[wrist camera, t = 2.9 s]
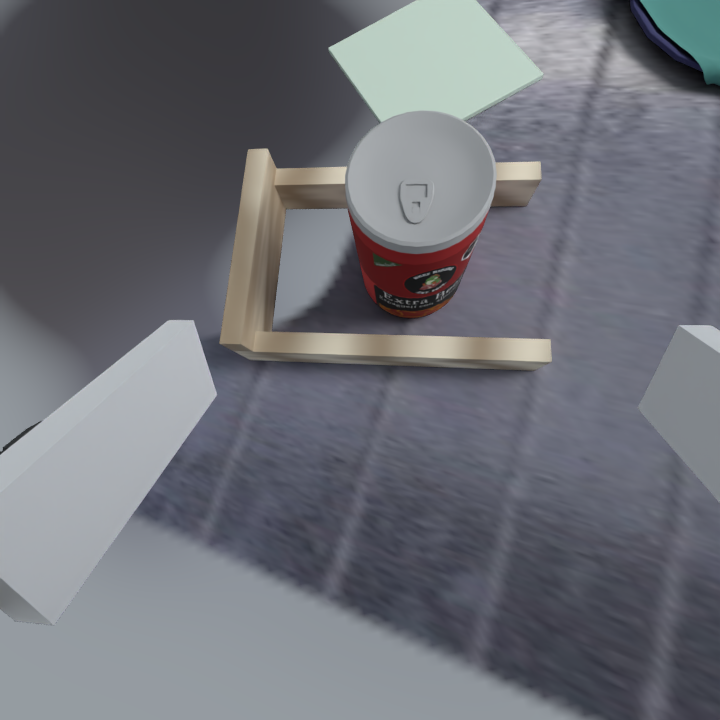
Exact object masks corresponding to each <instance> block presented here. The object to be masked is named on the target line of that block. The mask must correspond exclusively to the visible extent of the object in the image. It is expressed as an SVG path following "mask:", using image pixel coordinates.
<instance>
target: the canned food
mask: <svg viewBox="0 0 720 720" xmlns="http://www.w3.org/2000/svg"><path fill="white" fill-rule="evenodd" d="M496 178H497V171H496V164H495V159H494V156H493V154H492V151H491V148H490V147H489V145H488V144H487V142H486V140H485V139H484V137H483V136H482V135H481V134H480V133H479V132H478V131H477V130H476V129H475V128H474V127H473V126H471V125H470V124H468V123H467V122H465V121H464V120H462V119H460V118H457V117H455V116H453V115H450V114H446V113H442V112H437V111H423V110H421V111H413V112H406V113H403V114H399V115H396V116H393V117H391V118H389V119H387V120H385V121H383V122H381V123H379V124H378V125H377V126H375V127H374V128H372V129H371V130H370V131H369V132H368V133H367V134H366V135H365V136H364V137H363V138H362V139H361V140H360V141H359V143H358V144H357V146H356V147H355V149H354V150H353V152H352V154H351V157H350V159H349V162H348V164H347V169H346V174H345V192H346V201H347V206H348V213H349V217H350V221H351V226H352V230H353V235H354V239H355V244H356V248H357V253H358V257H359V261H360V266H361V270H362V275H363V279H364V283H365V287H366V289H367V291H368V293H369V295H370V296H371V298H372V299H373V300H374V302H375V303H376V304H377V305H379V306H380V307H381V308H382V309H384V310H385V311H387V312H389V313H391V314H393V315H396V316H399V317H404V318H419V317H422V316H426V315H429V314H431V313H433V312H435V311H437V310H439V309H440V308H442V307H443V306H444V305H446V304H447V303H448V301H449V300H450V299H451V298H452V297H453V295H454V294H455V292H456V290H457V288H458V286H459V284H460V281H461V279H462V276H463V274H464V271H465V269H466V267H467V264H468V262H469V259H470V257H471V254H472V252H473V249H474V247H475V245H476V242H477V240H478V237H479V235H480V232H481V230H482V228H483V225H484V223H485V220H486V217H487V214H488V211H489V209H490V206H491V203H492V200H493V197H494V191H495V188H496Z"/></svg>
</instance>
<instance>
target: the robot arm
mask: <svg viewBox="0 0 720 720" xmlns="http://www.w3.org/2000/svg"><path fill="white" fill-rule="evenodd" d="M216 396H217V393H216V390H215V386H214V383H213V380H212V377H211V374H210V371H209V368H208V364H207V361H206V358H205V355H204V352H203V349H202V346H201V342H200V339H199V336H198V333H197V330H196V327H195V324H194V321H193V320H168V321H167V322H166V323H165V324H163V325H162V326H161V327H160V328H158V329H157V330H156V331H155V332H153V333H152V334H151V335H150V336H148V337H147V338H146V339H145V340H143V341H142V342H141V343H140V344H138V345H137V346H136V347H135V348H133V349H132V350H131V351H130V352H128V353H127V354H126V355H125V356H123V357H122V358H121V359H120V360H118V361H117V362H116V363H115V364H113V365H112V366H111V367H110V368H108V369H107V370H106V371H105V372H103V373H102V374H101V375H99V376H98V377H97V378H96V379H95V380H93V381H92V382H91V383H89V384H88V385H87V386H86V387H85V388H83V389H82V390H81V391H79V392H78V393H77V394H76V395H74V396H73V397H72V398H71V399H70V400H68V401H67V402H66V403H65V404H63V405H62V406H61V407H59V408H58V409H57V410H56V411H54V412H53V413H52V414H51V415H49V416H48V417H47V418H46V419H44V420H42V421H40V422H38V423H37V424H35V425H33V426H31V427H29V428H28V429H26V430H25V431H24V432H22V433H21V434H20V435H18V436H17V437H16V438H14V439H13V440H12V441H11V442H10V443H8V444H7V445H6V446H5V447H3V451H2V452H0V609H1V610H2V611H3V612H4V613H6V614H7V615H8V616H9V617H11V618H12V619H13V620H14V621H17V622H26V623H35V624H44V625H55V624H56V622H57V621H58V619H59V618H60V616H61V615H62V614H63V612H64V611H65V609H66V608H67V607H68V605H69V604H70V602H71V601H72V599H73V598H74V597H75V595H76V594H77V592H78V591H79V590H80V588H81V587H82V585H83V584H84V583H85V581H86V580H87V578H88V577H89V575H90V574H91V572H92V571H93V570H94V568H95V567H96V566H97V564H98V563H99V561H100V560H101V558H102V557H103V556H104V554H105V553H106V551H107V550H108V549H109V547H110V546H111V544H112V543H113V541H114V540H115V539H116V537H117V536H118V534H119V533H120V531H121V530H122V529H123V527H124V526H125V524H126V523H127V522H128V520H129V519H130V517H131V516H132V515H133V513H134V512H135V510H136V509H137V507H138V506H139V505H140V503H141V502H142V500H143V499H144V498H145V496H146V495H147V493H148V492H149V490H150V489H151V488H152V486H153V485H154V483H155V482H156V481H157V479H158V478H159V476H160V475H161V473H162V472H163V471H164V469H165V468H166V466H167V465H168V464H169V462H170V461H171V459H172V458H173V457H174V455H175V454H176V452H177V451H178V449H179V448H180V447H181V445H182V444H183V442H184V441H185V440H186V438H187V437H188V435H189V434H190V432H191V431H192V430H193V428H194V427H195V425H196V424H197V423H198V421H199V420H200V418H201V417H202V415H203V414H204V413H205V411H206V410H207V408H208V407H209V406H210V404H211V403H212V401H213V400H214V398H215V397H216ZM638 409H639V411H640V412H641V413H642V414H643V415H644V416H645V418H646V419H647V420H648V421H649V422H650V423H651V424H652V426H653V427H654V428H655V429H656V430H657V431H658V432H659V434H660V435H661V436H662V437H663V438H664V439H665V441H666V442H667V443H668V444H669V445H670V446H671V447H672V449H673V450H674V451H675V452H676V453H677V454H678V456H679V457H680V458H681V459H682V460H683V461H684V462H685V464H686V465H687V466H688V467H689V468H690V469H691V470H692V472H693V473H694V474H695V475H696V476H697V477H698V479H699V480H700V481H701V482H702V483H703V484H704V485H705V487H706V488H707V489H708V490H709V491H710V492H711V494H712V495H713V496H714V497H715V498H716V499H717V500H718V502H719V503H720V330H718V329H716V328H715V327H713V326H709V325H679V326H678V328H677V330H676V332H675V334H674V336H673V338H672V340H671V342H670V344H669V346H668V348H667V350H666V352H665V354H664V356H663V358H662V360H661V362H660V364H659V366H658V368H657V370H656V372H655V374H654V376H653V378H652V380H651V382H650V384H649V386H648V388H647V390H646V392H645V394H644V396H643V398H642V400H641V402H640V404H639V406H638Z"/></svg>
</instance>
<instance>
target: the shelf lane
mask: <svg viewBox="0 0 720 720" xmlns="http://www.w3.org/2000/svg"><path fill="white" fill-rule="evenodd" d="M495 164H496V171H497V178H496V188H495V191H494V197H493V200H492V203H491V206H527V205H528V203H529V201H530V199H531V197H532V196H533V194H534V192H535V190H536V188H537V187H538V185H539V183H540V181H541V163H540V162H508V163H495ZM346 169H347V167H327V168H326V167H325V168H288V169H276V167H275V165H274V162H273V160H272V158H271V156H270V153H269V151H268V149H248V153H247V160H246V168H245V174H244V180H243V187H242V194H241V201H240V208H239V214H238V221H237V228H236V235H235V241H234V248H233V255H232V261H231V269H230V275H229V282H228V288H227V295H226V302H225V309H224V315H223V322H222V329H221V336H220V342H219V344H221V345H223V346H225V347H227V348H229V349H230V350H232V351H234V352H236V353H238V354H240V355H242V356H244V357H245V358H247V359H249V360H263V361H290V362H317V363H343V364H370V365H397V366H424V367H451V368H478V369H505V370H531V371H534V370H536V369H538V368H540V367H542V366H544V365H546V364H548V363H550V362H552V357H551V340H550V339H519V338H483V337H446V336H410V335H373V334H337V333H301V332H272V325H273V316H274V308H275V300H276V290H277V282H278V274H279V265H280V257H281V248H282V239H283V231H284V221H285V214H286V209H332V208H333V209H337V208H348V206H347V201H346V192H345V174H346Z"/></svg>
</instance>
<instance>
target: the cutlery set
mask: <svg viewBox="0 0 720 720" xmlns="http://www.w3.org/2000/svg"><path fill="white" fill-rule="evenodd" d="M630 5H631V11H632V13H633V14H634V16H635V18H636V19H637V21H638V23H639V24H640V26H641V28H642V29H643V31H644V33H645V34H646V36H647V37H648V38H649V39H650V40H651V41H653V42H654V43H655V44H656V45H657V46H659V47H660V48H661V49H662V50H664V51H665V52H666V53H667V54H668V55H670V56H671V57H672V58H673V59H674V60H676V61H679V62H681V63H683V64H685V65H688V66H690V67H692V68H695V69H697V70H699V71H702V72H703V73H704V79H705V82H706V83H707V84H712V83H714V84H716V85H719V86H720V0H630Z"/></svg>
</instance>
